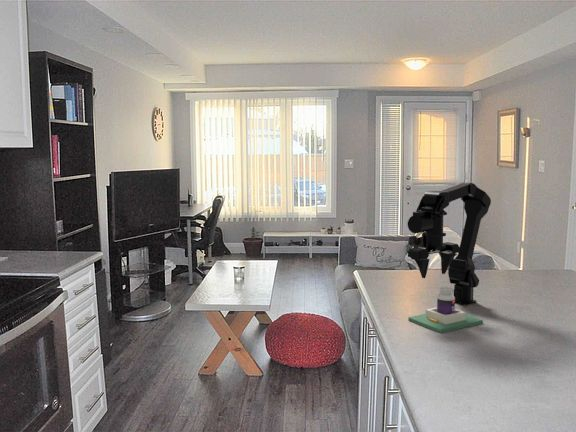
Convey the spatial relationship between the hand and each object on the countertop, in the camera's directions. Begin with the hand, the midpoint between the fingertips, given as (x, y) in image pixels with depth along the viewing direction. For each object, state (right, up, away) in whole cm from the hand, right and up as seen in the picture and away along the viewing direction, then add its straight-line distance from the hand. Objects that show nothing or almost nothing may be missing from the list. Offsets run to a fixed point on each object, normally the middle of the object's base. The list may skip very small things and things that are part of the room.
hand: (433, 275), depth 181 cm
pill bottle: (+1, -13, -9) cm, 16 cm away
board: (+1, -13, -9) cm, 16 cm away
